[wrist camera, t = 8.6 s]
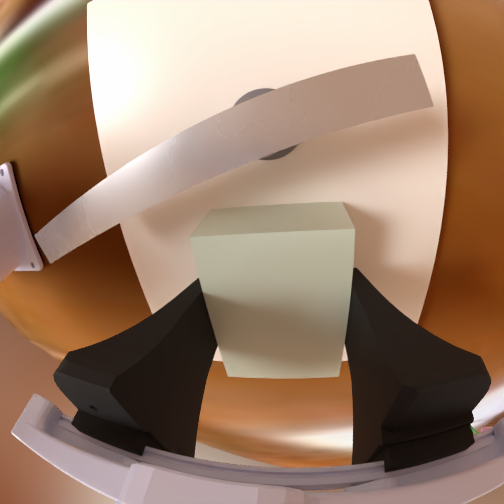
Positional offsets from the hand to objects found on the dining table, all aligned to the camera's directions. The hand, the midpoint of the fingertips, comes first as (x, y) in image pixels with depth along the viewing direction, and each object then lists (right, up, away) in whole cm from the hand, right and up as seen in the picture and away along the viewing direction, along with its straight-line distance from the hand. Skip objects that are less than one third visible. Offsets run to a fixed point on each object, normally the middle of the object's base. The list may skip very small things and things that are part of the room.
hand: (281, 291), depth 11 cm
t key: (-3, +5, -2) cm, 6 cm away
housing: (0, +5, -1) cm, 5 cm away
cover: (0, 0, +1) cm, 1 cm away
